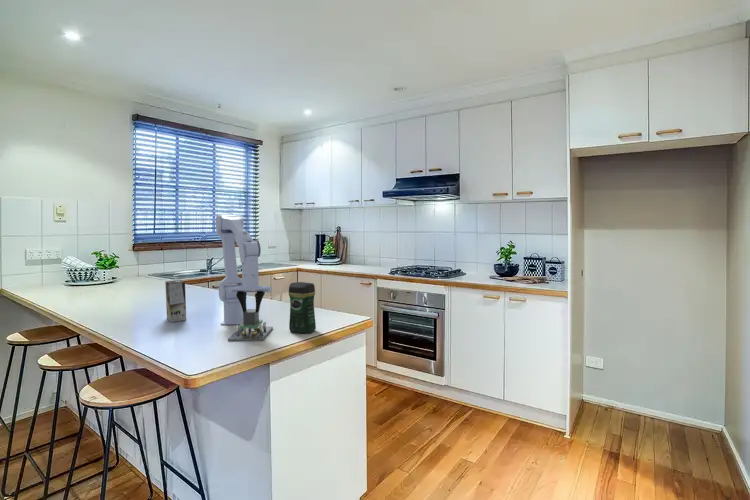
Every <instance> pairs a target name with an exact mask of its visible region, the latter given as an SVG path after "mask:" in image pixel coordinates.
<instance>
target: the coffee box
mask: <svg viewBox="0 0 750 500" xmlns="http://www.w3.org/2000/svg"><path fill="white" fill-rule="evenodd" d="M165 300H166V301H165V303H166V304H165V305H166V319H167V320H168V321H169V322H170V323H173V322H175V323H176V322H181V321H186V320H187V307H186V306H187V305H186V304H187V303H186V302H187V301H186V282H185V281H183V280H181V279H180V280H179V279H176V280H166V281H165Z"/></svg>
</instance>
